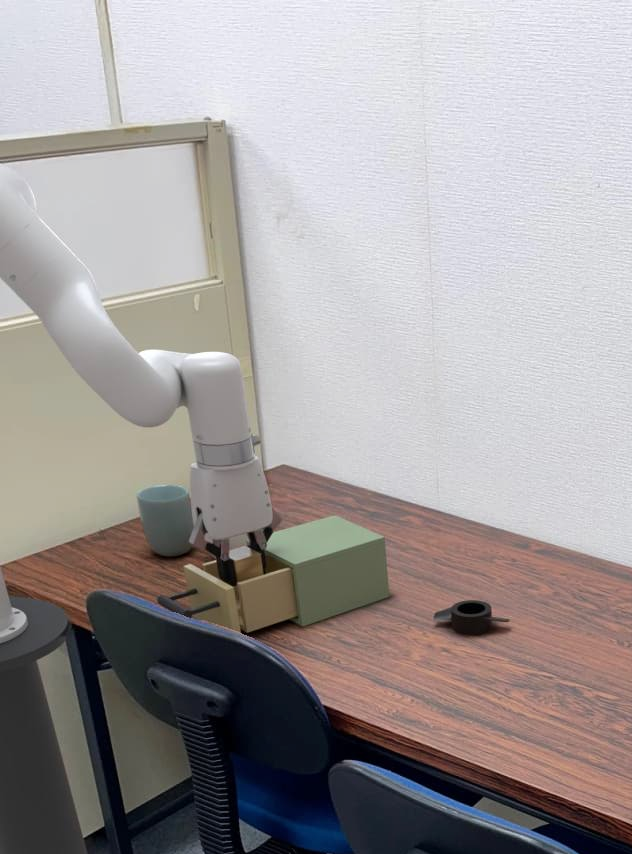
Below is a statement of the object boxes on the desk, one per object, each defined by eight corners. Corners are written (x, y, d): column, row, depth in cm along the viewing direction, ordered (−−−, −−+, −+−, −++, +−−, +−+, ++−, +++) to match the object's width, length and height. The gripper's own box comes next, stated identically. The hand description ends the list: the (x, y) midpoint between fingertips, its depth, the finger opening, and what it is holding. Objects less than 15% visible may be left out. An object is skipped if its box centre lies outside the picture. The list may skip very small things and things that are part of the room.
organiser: (302, 626, 171) (294, 564, 166) (254, 600, 179) (245, 539, 174) (389, 596, 181) (384, 536, 176) (341, 573, 188) (334, 514, 183)
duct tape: (467, 609, 178) (466, 590, 176) (515, 628, 172) (514, 610, 171) (428, 624, 173) (427, 606, 171) (476, 645, 167) (476, 626, 166)
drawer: (197, 654, 161) (187, 601, 157) (155, 628, 168) (145, 576, 164) (322, 612, 174) (316, 561, 170) (278, 589, 180) (272, 540, 176)
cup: (171, 564, 190) (159, 504, 184) (137, 554, 193) (125, 494, 188) (208, 550, 195) (198, 490, 190) (175, 540, 199) (164, 481, 193)
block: (239, 587, 166) (235, 560, 164) (224, 579, 169) (220, 552, 166) (264, 580, 169) (260, 553, 167) (249, 572, 171) (245, 545, 169)
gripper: (263, 432, 166) (280, 556, 176) (152, 457, 156) (176, 587, 166) (293, 444, 162) (309, 570, 172) (181, 471, 151) (204, 603, 161)
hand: (243, 577), depth 169 cm, fingers closed on block, 4 cm apart
